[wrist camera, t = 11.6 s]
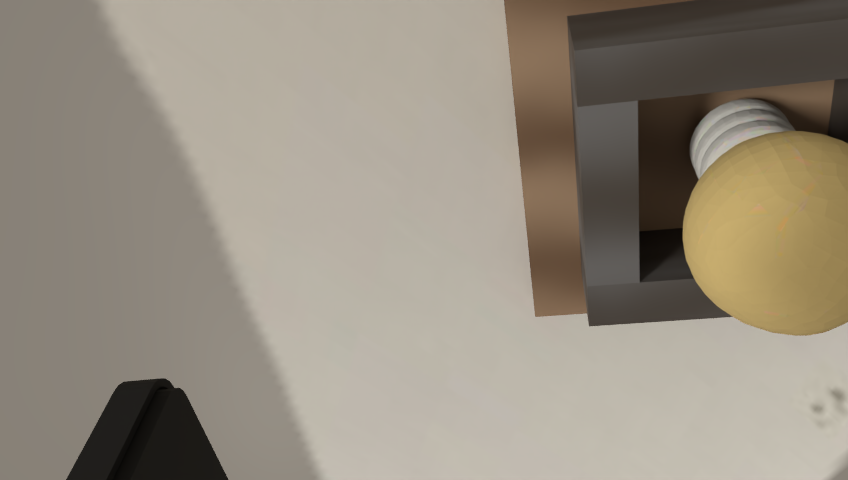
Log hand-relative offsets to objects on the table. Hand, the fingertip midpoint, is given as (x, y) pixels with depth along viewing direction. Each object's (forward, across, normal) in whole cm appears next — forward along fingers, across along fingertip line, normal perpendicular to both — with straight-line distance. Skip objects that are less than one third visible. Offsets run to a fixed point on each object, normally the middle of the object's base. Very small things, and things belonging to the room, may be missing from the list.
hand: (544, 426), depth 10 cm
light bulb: (+22, -8, +8) cm, 25 cm away
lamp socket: (+23, -7, +9) cm, 25 cm away
